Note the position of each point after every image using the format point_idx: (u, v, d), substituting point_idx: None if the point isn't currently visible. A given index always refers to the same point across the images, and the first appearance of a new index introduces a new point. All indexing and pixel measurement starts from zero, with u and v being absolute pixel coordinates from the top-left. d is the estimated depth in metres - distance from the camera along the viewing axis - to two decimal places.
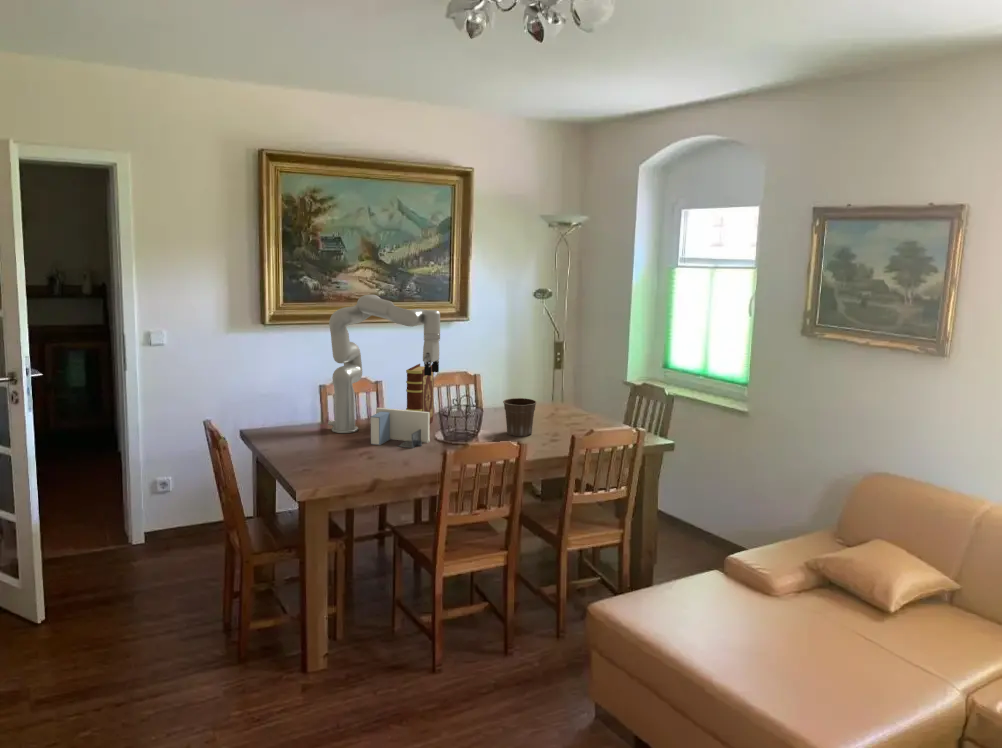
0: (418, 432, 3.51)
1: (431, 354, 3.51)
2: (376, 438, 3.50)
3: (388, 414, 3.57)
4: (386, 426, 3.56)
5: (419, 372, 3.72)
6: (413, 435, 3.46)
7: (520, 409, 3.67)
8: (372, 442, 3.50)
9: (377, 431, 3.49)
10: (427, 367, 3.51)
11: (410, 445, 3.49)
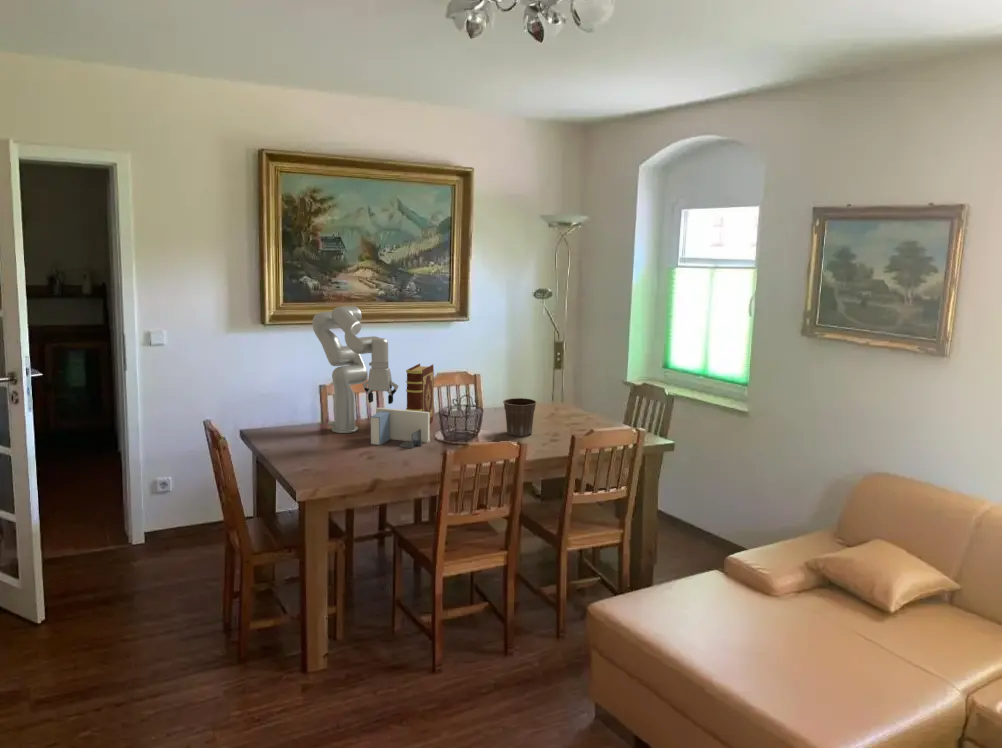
0: (418, 432, 3.51)
1: (391, 381, 3.51)
2: (376, 438, 3.50)
3: (388, 414, 3.57)
4: (386, 426, 3.56)
5: (419, 372, 3.72)
6: (413, 435, 3.46)
7: (520, 409, 3.67)
8: (372, 442, 3.50)
9: (377, 431, 3.49)
10: (392, 395, 3.50)
11: (410, 445, 3.49)
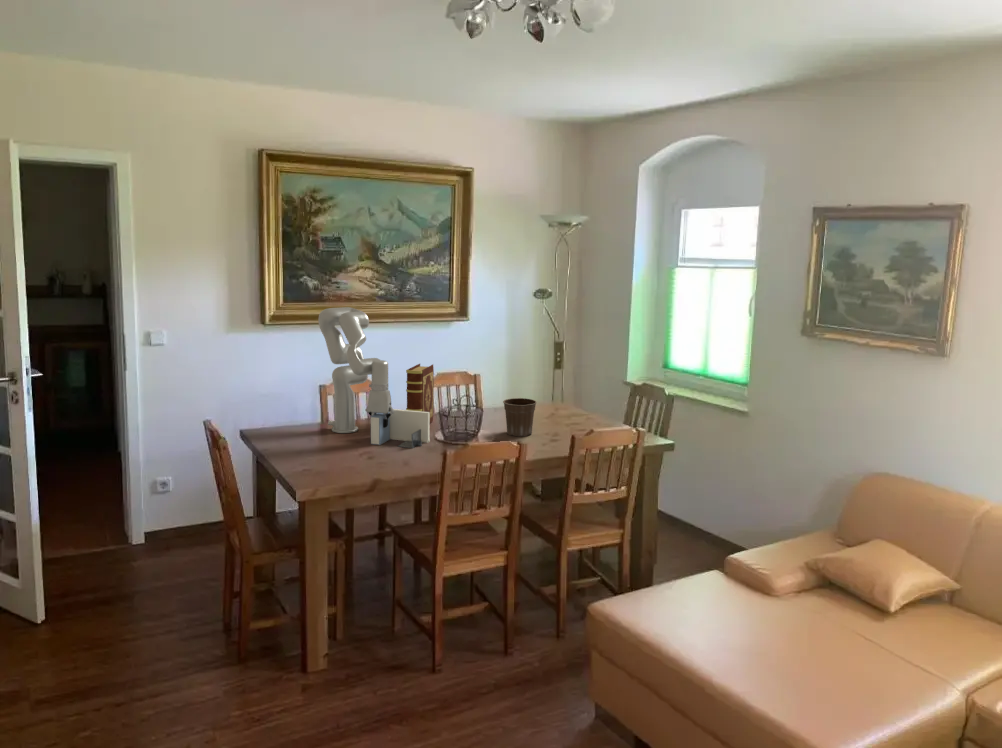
0: (418, 432, 3.51)
1: None
2: (376, 438, 3.50)
3: None
4: None
5: (419, 372, 3.72)
6: (413, 435, 3.46)
7: (520, 409, 3.67)
8: (372, 442, 3.50)
9: (377, 431, 3.49)
10: (386, 419, 3.53)
11: (410, 445, 3.49)
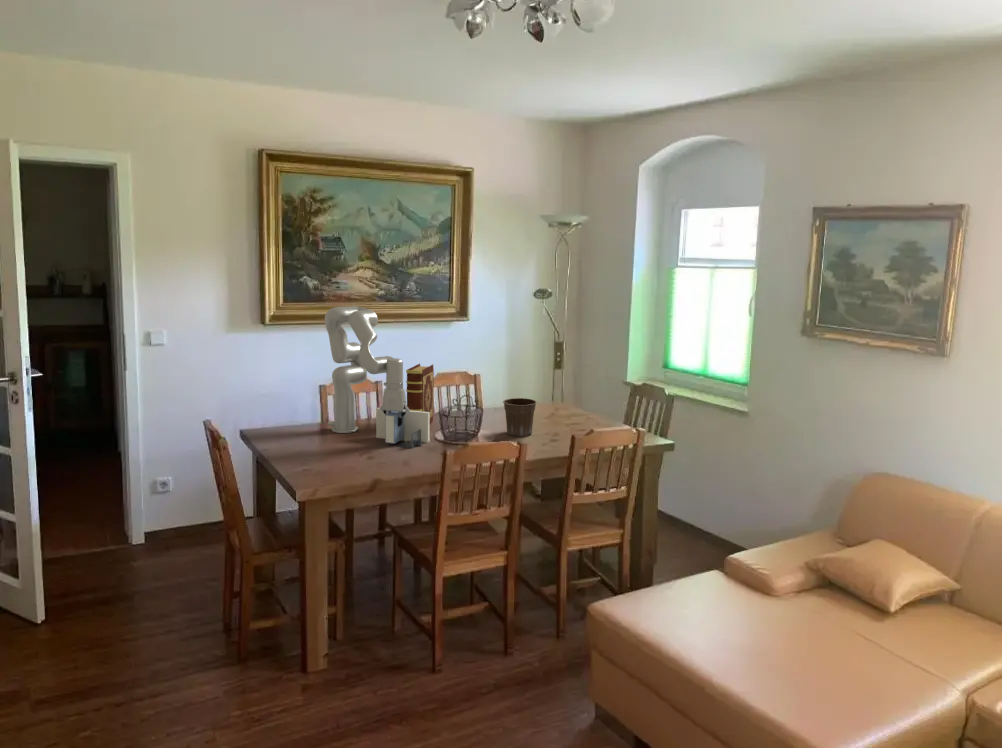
0: (418, 432, 3.51)
1: (405, 401, 3.50)
2: (391, 437, 3.47)
3: None
4: None
5: (419, 372, 3.72)
6: (413, 435, 3.46)
7: (520, 409, 3.67)
8: (387, 441, 3.48)
9: (392, 429, 3.47)
10: None
11: (410, 445, 3.49)
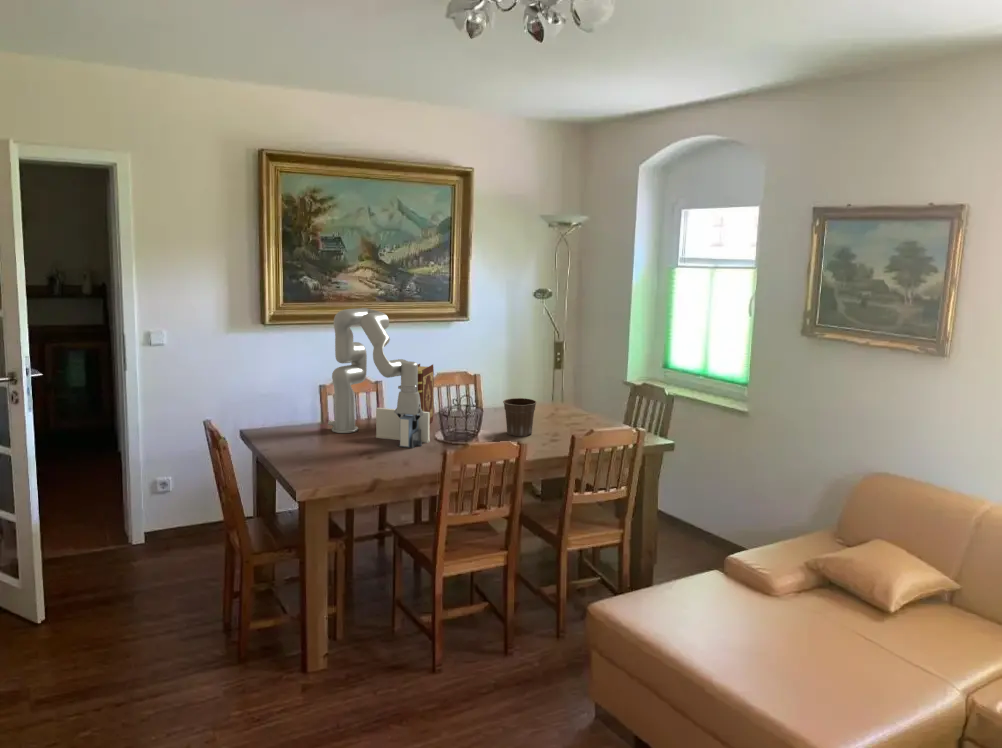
0: (418, 432, 3.51)
1: (420, 405, 3.49)
2: (405, 440, 3.46)
3: None
4: None
5: (419, 372, 3.72)
6: (413, 435, 3.46)
7: (520, 409, 3.67)
8: (401, 444, 3.46)
9: (406, 433, 3.45)
10: None
11: None
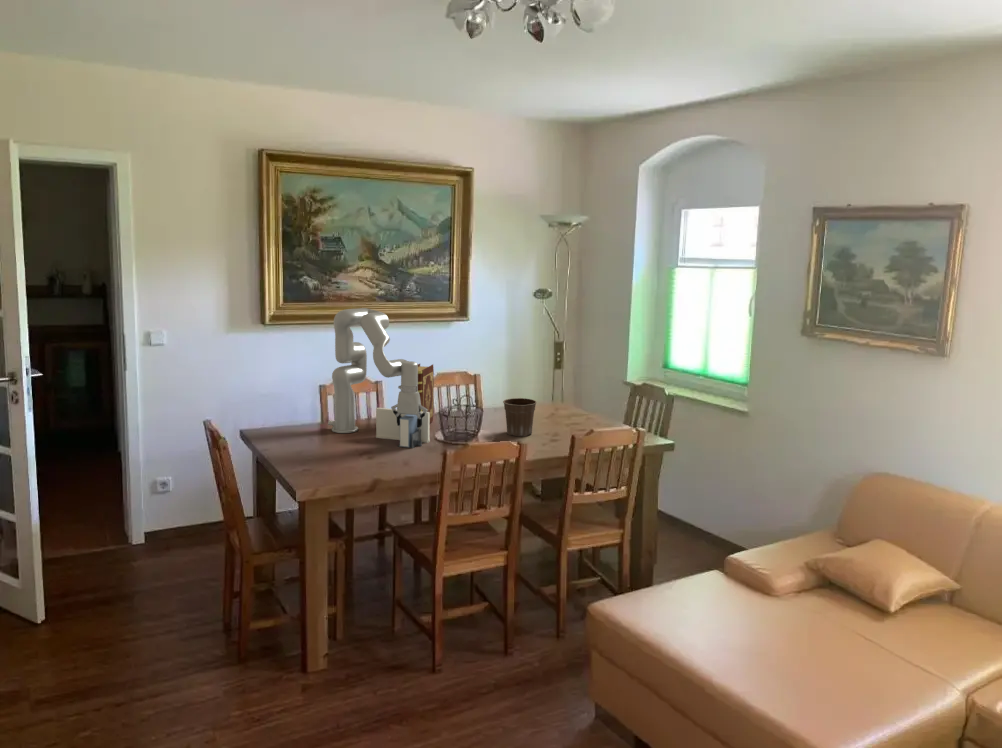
0: (418, 432, 3.51)
1: (420, 405, 3.49)
2: (405, 440, 3.46)
3: None
4: (415, 428, 3.52)
5: (419, 372, 3.72)
6: (413, 435, 3.46)
7: (520, 409, 3.67)
8: (401, 444, 3.47)
9: (406, 433, 3.45)
10: (421, 418, 3.48)
11: None
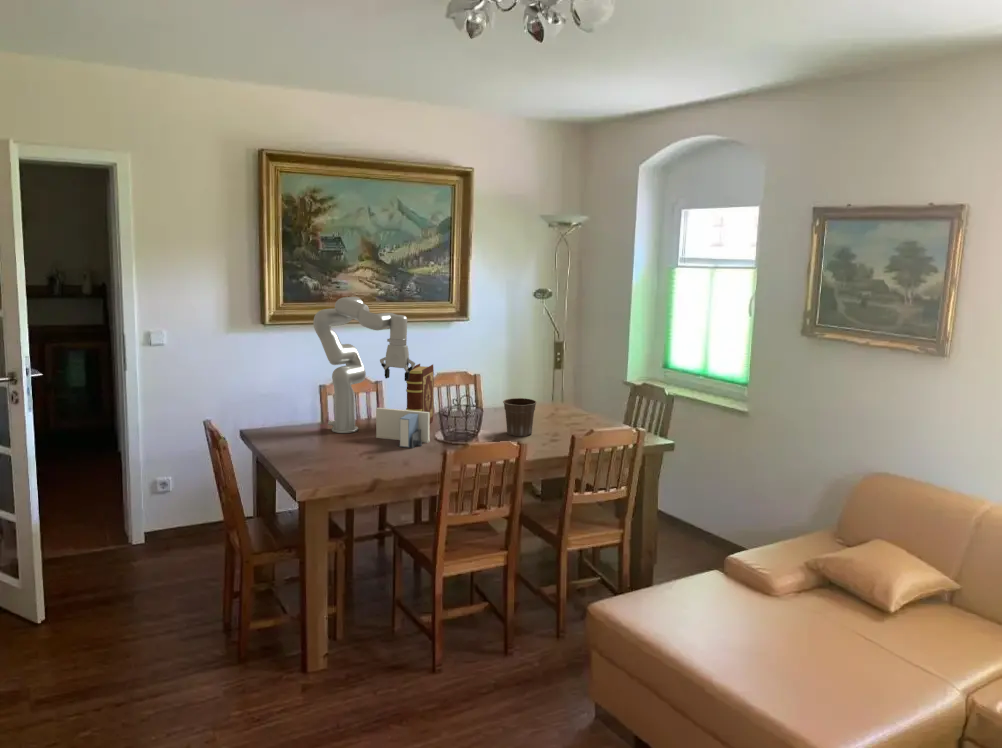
0: (418, 432, 3.51)
1: (408, 358, 3.52)
2: (405, 440, 3.46)
3: (417, 416, 3.53)
4: (415, 428, 3.52)
5: (419, 372, 3.72)
6: (413, 435, 3.46)
7: (520, 409, 3.67)
8: (401, 444, 3.47)
9: (406, 433, 3.45)
10: (409, 372, 3.51)
11: None
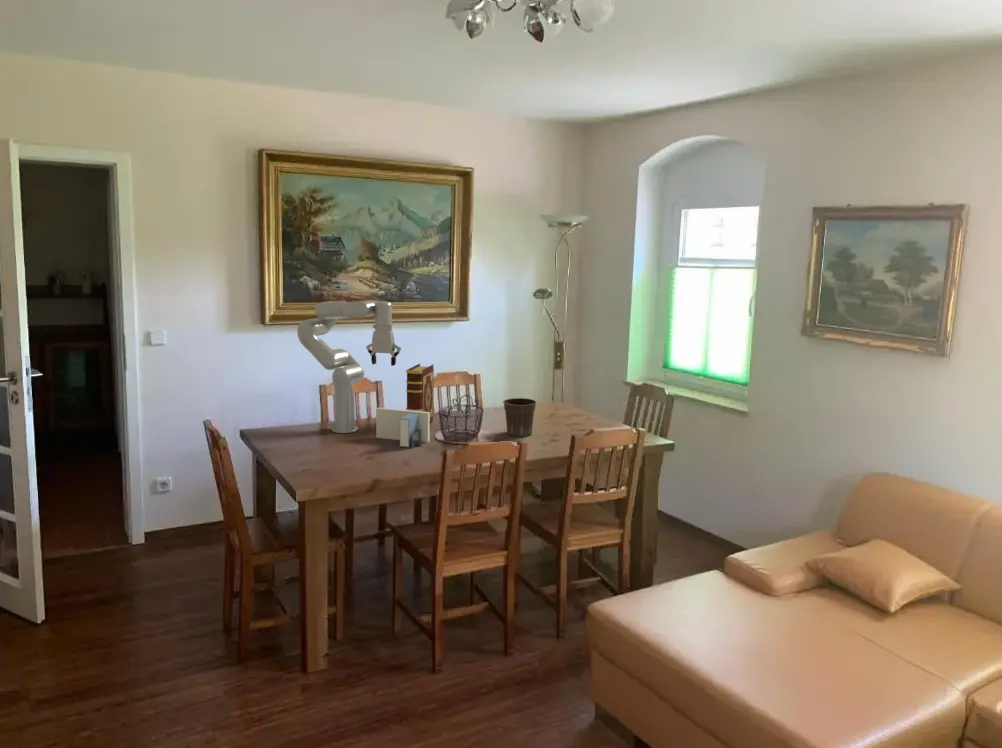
0: (418, 432, 3.51)
1: (394, 344, 3.59)
2: (405, 440, 3.46)
3: (417, 416, 3.53)
4: (415, 428, 3.52)
5: (419, 372, 3.72)
6: (413, 435, 3.46)
7: (520, 409, 3.67)
8: (401, 444, 3.47)
9: (406, 433, 3.45)
10: (395, 357, 3.58)
11: None
